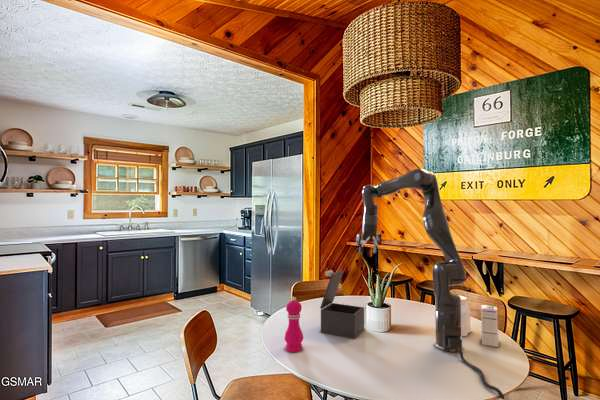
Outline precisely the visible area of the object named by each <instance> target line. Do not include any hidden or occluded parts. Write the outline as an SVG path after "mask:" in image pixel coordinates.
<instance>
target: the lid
mask: <svg viewBox="0 0 600 400" xmlns="http://www.w3.org/2000/svg"><path fill="white" fill-rule="evenodd" d="M344 272H345V271H344V269H341V270H338V271H336V272H334V271H333V270H332V269H329V270H327V271H325V272H324V276H326V277H329V281H328V284H327V286H326V289H325V292H324V296H323V297H322V301H321V304H320V307H319V309H320V310H321V309H323V308H325V307H326V306H328V305H330V304H331V303H334V300H335V298H336V295H337V292H338V289H339V285H340V283H341V280H342V277H343V275H344Z"/></svg>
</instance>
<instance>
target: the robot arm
mask: <svg viewBox="0 0 600 400" xmlns="http://www.w3.org/2000/svg"><path fill="white" fill-rule="evenodd" d="M402 189H415V190H418V191H421V192H422V194H423V198H424V201H425V203H424V204H425V206H424V209H423V214H422V223H423V227H424V229H425V232H426V235H427V237H428V238H429V239H430V240H431V241H432V243H434V244H435V246H436V247H437V248H438V249H439V250H440V251H441V253H442V255H443V257H444V259H445V261H437V262H435V263H434V265H433V266H432V285H433V287H432V288H433V295H434V300H435V301H434V302H435V303H434V305H435V311H434V313H435V316H434V317H435V347H436V348H437V349H439V350H440V351H443V352H445V353H459V355H460V356H459V357H460V359H461V361H462V362H463V363H464V364H465V365H466V366H467V367H470V368H471V369H473V370H475V371H476V372H478V374H479V375H480V379H481V382H482V384H483V385H484V387H486V388H488V389H490V390H493V391H495V392H496V393H497V394H498V395H499V397H500V399H502V400H505V399H506V397H505V395H504V394H503V392H502V391H501V390H500V388H498V387H496V386H494V385H491V384H490V383H488V382H487V381H486V378H485V375H484V373H483V371H482V370H481V369H480V368H479V367H477V366H475V365H473V364H471V363H470V362H468V361H467V360H466V358H465V357H464V354H463V351H462V349H463V339H462V336H461V298H460V296H461V295H460V296H458V295H459V294H455V293H453V292H451V290H450V287H452V286H461V285H463V284H464V283H466V278H467V276H466V270H465V267H464V263H463V262H462V259H461V256H460V254H459V252H458V250H457V247H456V244H455V242H454V239H453V236H452V233H451V229H450V225H449V222H448V219H447V216H446V213H445V212H446V211H445V209H444V206H443V203H442V199H441V195H440V189H439V184H438V179H437V176H436V175H435V173H434V172H432V171H430V170H427V169H424V168H415V169H411V170H410V171H408V172H406V173H403V174H402V175H400V176H397V177H395V178H392V179H388V180H385V181H382V182H379V183H378V184H366V185H364V186H363V188H362V190H361V196H362V202H363V206H364V208H363V217H362V228H361V229H362V233H357V234H356V240H355V246H358V253H359V254H360V255H363V254H364V246H365V245H366V244H367V243H372V244H373V247H372V252H373V254H377V252H378V249H379V246H382V234H381V233H379V232H378V220H379V219H378V217H379V216H378V215H379V213H378V212H379V205H378V203H376V202H374V201H373V199H379V198H383V197H386V196H391V195H395V194H397V193H398V192H400V191H401V190H402Z"/></svg>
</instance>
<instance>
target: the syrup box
mask: <svg viewBox="0 0 600 400" xmlns="http://www.w3.org/2000/svg"><path fill="white" fill-rule="evenodd" d="M480 319H481V320H480V321H481V344H482V345H484V346H489V347H495V348H499V316H498V306H495V305H489V304H488V305H487V304H481V307H480Z"/></svg>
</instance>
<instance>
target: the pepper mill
mask: <svg viewBox="0 0 600 400" xmlns="http://www.w3.org/2000/svg"><path fill="white" fill-rule="evenodd" d="M302 308H303V307H302V304H301V302H299V301H298V300H297V298H296V297H295V296H292V297H291V300H290V301H288V302H287V303H286V306H285V311H286V312H287V319H288V326H287V329H286V331H285V333H284V341H285V342H286V344H285V350H286V352H289V353H298V352H301V351H302V350H303V343H302V342H303V341H304V334H303V330H302V329H301V327H300V318H301V312H302Z"/></svg>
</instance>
